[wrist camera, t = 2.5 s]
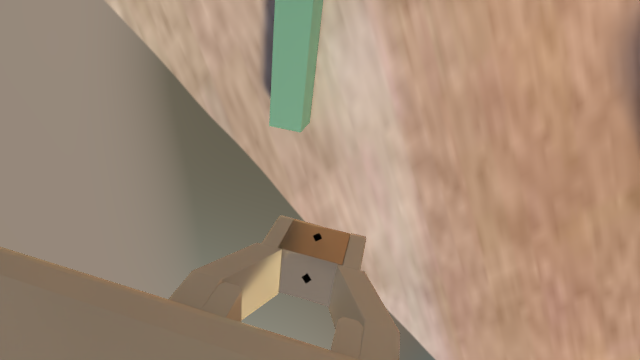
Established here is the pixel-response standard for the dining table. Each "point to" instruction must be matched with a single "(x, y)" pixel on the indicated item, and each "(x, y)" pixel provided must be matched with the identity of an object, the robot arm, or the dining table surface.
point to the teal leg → (294, 62)
